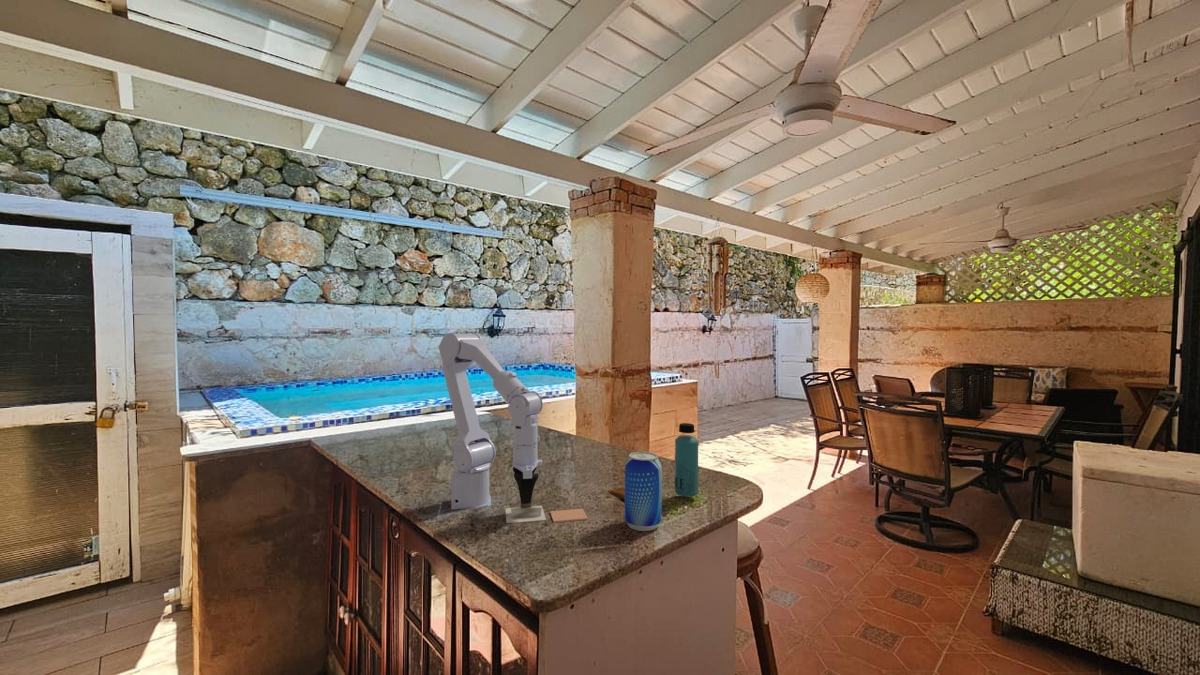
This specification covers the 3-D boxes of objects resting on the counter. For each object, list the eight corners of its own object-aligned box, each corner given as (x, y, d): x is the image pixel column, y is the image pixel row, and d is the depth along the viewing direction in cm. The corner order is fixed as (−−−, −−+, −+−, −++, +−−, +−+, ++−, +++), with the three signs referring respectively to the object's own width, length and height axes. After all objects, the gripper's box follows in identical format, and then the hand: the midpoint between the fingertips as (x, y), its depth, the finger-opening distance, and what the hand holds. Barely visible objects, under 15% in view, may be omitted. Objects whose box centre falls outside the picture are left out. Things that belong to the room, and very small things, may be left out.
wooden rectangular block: (511, 518, 108) (511, 488, 108) (510, 513, 111) (510, 484, 111) (541, 515, 110) (541, 486, 110) (539, 510, 113) (540, 482, 113)
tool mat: (506, 525, 105) (506, 523, 105) (505, 510, 114) (505, 508, 114) (546, 521, 108) (546, 519, 108) (541, 507, 116) (541, 505, 116)
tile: (550, 516, 112) (553, 526, 106) (550, 511, 112) (553, 521, 106) (582, 513, 114) (587, 523, 108) (582, 508, 114) (587, 518, 108)
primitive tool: (607, 492, 129) (607, 480, 129) (624, 489, 131) (624, 477, 131) (644, 517, 112) (644, 502, 112) (663, 513, 114) (663, 499, 114)
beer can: (664, 520, 109) (665, 452, 109) (657, 535, 101) (657, 461, 101) (630, 515, 112) (630, 449, 111) (620, 529, 104) (620, 458, 103)
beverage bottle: (702, 496, 125) (702, 423, 125) (693, 504, 119) (694, 427, 119) (679, 492, 128) (680, 420, 128) (669, 499, 123) (670, 424, 123)
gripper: (545, 449, 105) (545, 509, 105) (539, 435, 119) (538, 488, 119) (514, 451, 103) (513, 512, 103) (511, 437, 117) (510, 490, 117)
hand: (525, 499), depth 111 cm, fingers open, 4 cm apart
